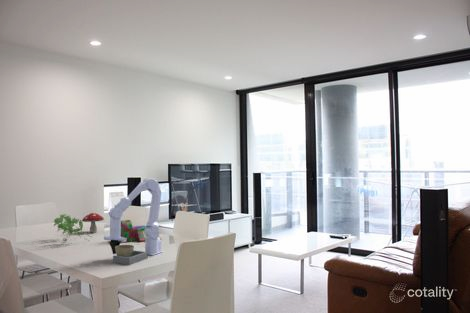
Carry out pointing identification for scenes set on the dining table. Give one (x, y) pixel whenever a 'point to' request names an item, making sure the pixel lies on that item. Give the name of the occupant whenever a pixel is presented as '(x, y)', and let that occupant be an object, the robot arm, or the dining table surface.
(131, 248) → the flower pot
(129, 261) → the bracket
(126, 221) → the puzzle
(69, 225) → the plant cuttings
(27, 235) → the dining table surface
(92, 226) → the decorative mushroom
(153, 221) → the robot arm
